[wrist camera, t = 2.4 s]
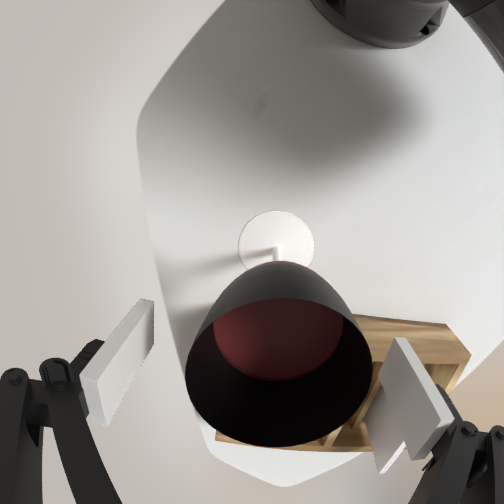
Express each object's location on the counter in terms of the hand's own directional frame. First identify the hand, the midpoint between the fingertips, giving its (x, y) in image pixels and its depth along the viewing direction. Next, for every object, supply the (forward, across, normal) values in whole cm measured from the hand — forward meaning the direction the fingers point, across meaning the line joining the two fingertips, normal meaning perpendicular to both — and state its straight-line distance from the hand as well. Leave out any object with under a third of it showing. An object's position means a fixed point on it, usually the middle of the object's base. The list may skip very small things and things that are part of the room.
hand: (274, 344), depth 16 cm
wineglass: (+16, 0, 0) cm, 17 cm away
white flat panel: (+16, +16, -14) cm, 27 cm away
